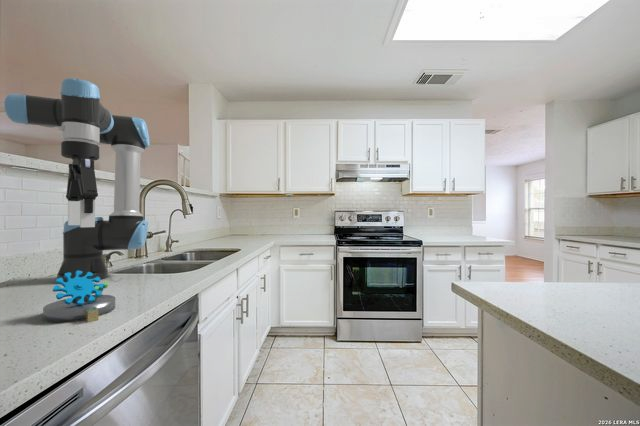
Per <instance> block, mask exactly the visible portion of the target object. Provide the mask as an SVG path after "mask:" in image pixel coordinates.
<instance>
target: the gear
mask: <svg viewBox="0 0 640 426" xmlns="http://www.w3.org/2000/svg"><path fill="white" fill-rule="evenodd" d="M81 274H82V271H76V273H75V275H76V277H75V278H73V279H72V278H70V276H71V273H65V274H64V277H65V278H66V279H67V281H68V282H63V278H58V279H57V278H56V279H55V284H54V287H53V289H52V292H54V293H55V292H57V293H56V296H55V298H56V300H57V301H60V300H63V298H65V299H66V300H65V303H66V304H68V305H69V304H71V302H72V301H75V300H76V299H77V298H80V300H78V301H77V303H76V304H77V305H83V303H84V297H86V296H88V297H89V299H88V302H89V303H90V302H94V301H95V297H99V296H100V295H103V291H104V289H107V287H108V286H109V282H107V281H106V282H105V281H104V283H100V282H101V279H100V277H96V278H93V279H87V278H91V277H92V275H93V274H92V273H91V272H88V273H87V274H86V275H85V276H84V277H79V276H81ZM60 285H61V286H62V287H61V286H60ZM62 292H63V293H62ZM92 295H95V297H93V296H92ZM67 297H68V298H67Z"/></svg>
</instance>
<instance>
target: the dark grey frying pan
mask: <svg viewBox="0 0 640 426" xmlns="http://www.w3.org/2000/svg"><path fill="white" fill-rule="evenodd" d="M92 296H93V297H95V294H92ZM66 299H67V298H64V299H59V300H56V301H54V302H50V303H47V304H46V305H44V306H43V308H42V320H43V321H44V322H47V323H54V324H55V323H56V324H57V323H58V324H59V323H60V324H61V323H71V322H78V321H85V322H86V323H92V322H95V321H99V317H101V316H103V315H104V316H105V315H106V314H109V313H111V312H113V311H114V310H115V309H116V297H115V296H114V295H112V294H101V295H100V296H99V297H95V301H94V302H90V303H89V302H88V299H89V297H88V296H86V297H84V303H83V305H77V304H76V303H77V301H78V300H80V298H77V299H76V300H75V301H72V302H71V304H69V305H68V304H66V303H65V300H66Z"/></svg>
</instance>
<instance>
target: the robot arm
mask: <svg viewBox="0 0 640 426" xmlns="http://www.w3.org/2000/svg"><path fill="white" fill-rule="evenodd" d="M59 94H60V95H61V96H60V98H51V97H47V96H46V97H45V96H37V95H28V94H24V93H23V94H19V93H9V94H8V95H7V96H6V97H5V99H4V103H3V105H4V112H5V114H6V116H7V117H8V119H10V121H12V122H14V123H16V124H22V125H32V126H40V127H44V128H49V129H54V130H58V131H61V139H62V140H63V141H61V144H60V147H61V150H60V152H61V153H60V155H61V156H62V157H63V158H65V159H71V160H72V163H69V164H68V177H67V186H66V193H65V194H66V195H65V198H66V200H67V220H66V221H65V222H64V224H63V232H62V236H63V237H62V240H63V242H62V243H63V244H62V245H63V247H62V250H63V253H62V254H63V257H62V263H61V264H60V268H59V269H58V272H57V274H56V280H57V279H58V278H63V282H68V281H67V279H66V278H65V277H64V274H65V273H71V276H70V278H72V279H73V278H75V277H76V275H75V273H76V271H82V274H81V276H79V277H84V276H85V275H86V274H87V273H88V272H91V273H92V274H93V275H92V277H91V278H87V279H93V278H96V277H100V280H103V279H105V278H108V277H109V270H108V268H107V265H106V262H105V259H104V256H103V253H104V252H103V251H125V250H129V251H130V250H139V249H142V248H143V247H144V246H145V243H146V240H147V237H148V233H149V222H148V220H146V219H144V215H143V214H142V213H141V212H140V195H141V192H140V191H141V157H142V156H141V155H143V154H144V153H145V152H146V148H149V147H150V144H151V142H150V134H149V130H148V126H147V122H146V121H145V120H144V119H143V118H140V117H135V116H124V115H115V114H111V113H110V111H109V110H108V109H107V108H106V107H105V106H103V104H102V103H101V102H100V101H101V96H100V95H101V94H100V89H99V87H98V86H97V84H94V83H93V82H91V81H88V80H84V79H80V78H73V77H72V78H71V77H70V78H69V77H68V78H64V79H63V80H62V81H61V90H60V93H59ZM99 144H104V145H110V147H111V148H110V149H112V151H113V152H114V153H115V157H114V158H115V160H114V161H115V162H114V191H113V192H114V193H113V194H114V197H113V212H111V213H110V214H109V215H108V220H104V218H103V217H102V216H97V217H96V199H97V197H98V196H99V194H98V186H97V180H96V172H95V161H98V160H99V159H100V146H99Z"/></svg>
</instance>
